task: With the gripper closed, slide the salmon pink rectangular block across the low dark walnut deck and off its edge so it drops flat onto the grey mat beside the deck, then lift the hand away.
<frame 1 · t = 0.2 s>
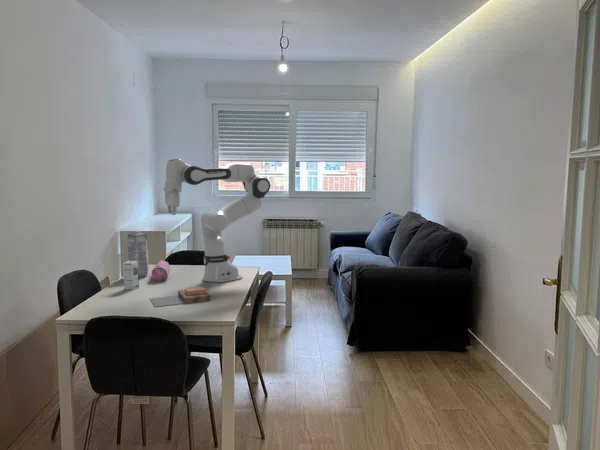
hand: (171, 214, 282), 39 cm above the table, tool pointing down, fingers open, 8 cm apart
deck: (193, 298, 255), on the table
pencil case: (161, 278, 302), on the table
salmon pink rectangular block: (195, 292, 255), point 2 cm above the table, touching deck
mat: (167, 301, 250), on the table
juice carton: (139, 276, 307), on the table
syrup box: (131, 288, 277), on the table
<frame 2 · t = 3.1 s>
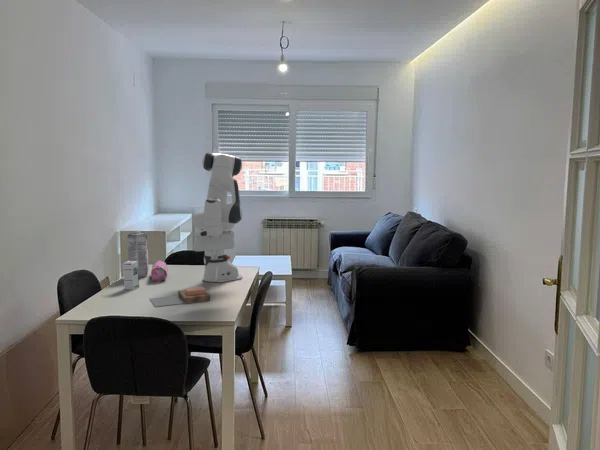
hand: (214, 258, 257), 19 cm above the table, tool pointing down, fingers closed
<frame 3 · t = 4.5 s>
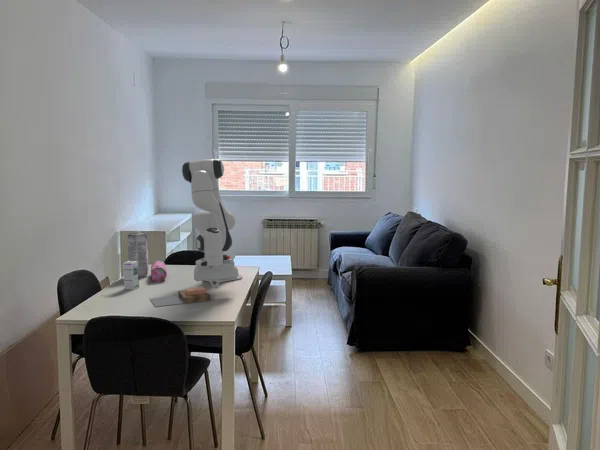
hand: (214, 288, 259), 4 cm above the table, tool pointing down, fingers closed
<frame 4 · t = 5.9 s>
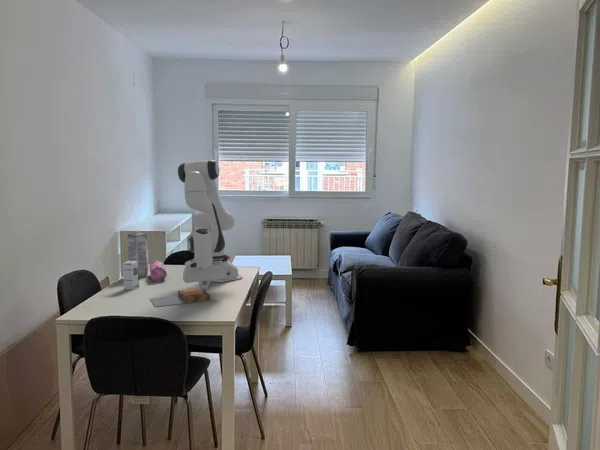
hand: (204, 289, 257), 4 cm above the table, tool pointing down, fingers closed
salmon pink rectangular block: (192, 293, 254), point 2 cm above the table, touching deck
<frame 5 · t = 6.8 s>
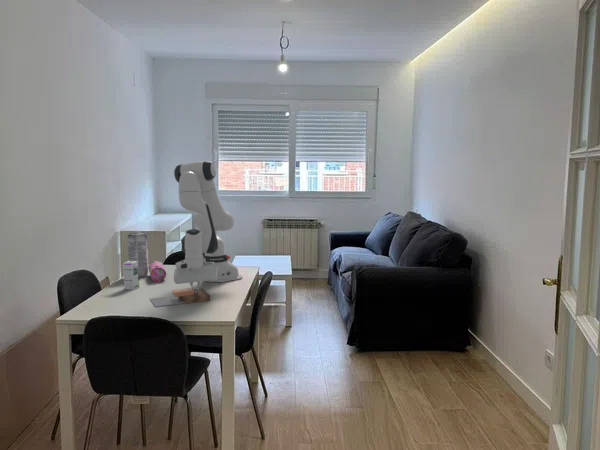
hand: (195, 290, 255), 4 cm above the table, tool pointing down, fingers closed
salmon pink rectangular block: (183, 294, 253), point 2 cm above the table, touching deck, gripper
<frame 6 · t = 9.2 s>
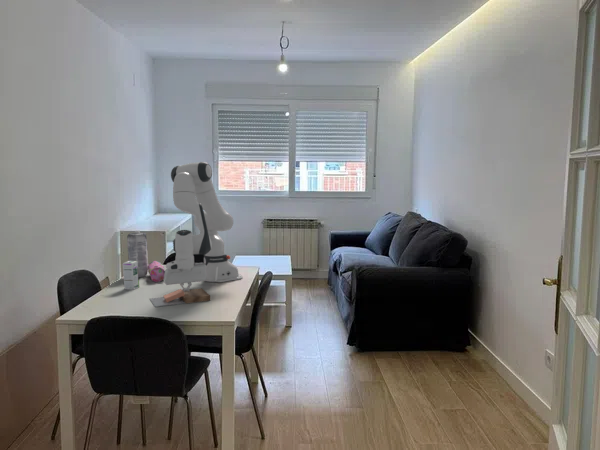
hand: (186, 291, 253), 4 cm above the table, tool pointing down, fingers closed
salmon pink rectangular block: (174, 297, 251), point 2 cm above the table, tilted 16°, touching deck, gripper, mat
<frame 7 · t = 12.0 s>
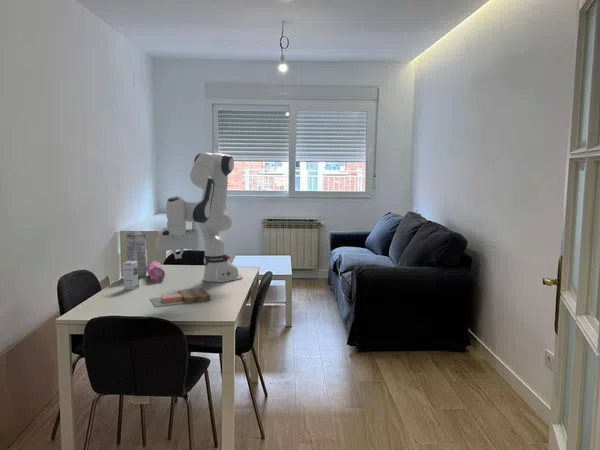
hand: (178, 258, 253), 20 cm above the table, tool pointing down, fingers closed
salmon pink rectangular block: (171, 300, 250), resting on mat
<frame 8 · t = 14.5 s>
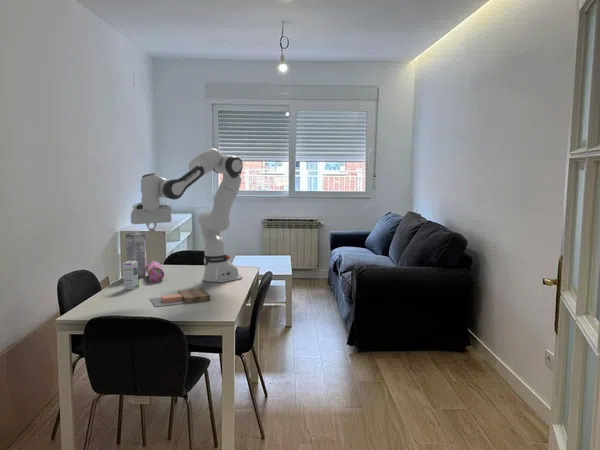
hand: (151, 232, 267), 31 cm above the table, tool pointing down, fingers closed
at the end: salmon pink rectangular block inside the target area (2.7 cm from its centre), resting on mat; salmon pink rectangular block tilted 0° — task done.
